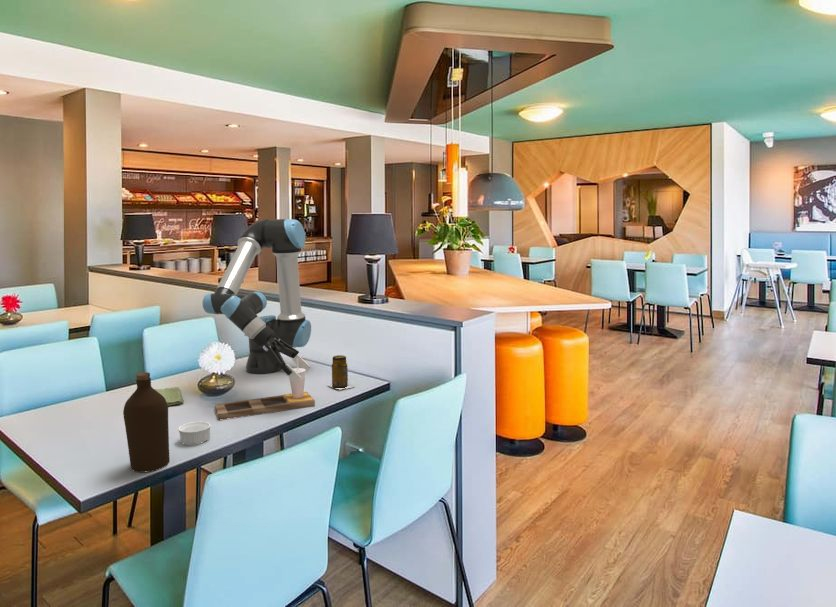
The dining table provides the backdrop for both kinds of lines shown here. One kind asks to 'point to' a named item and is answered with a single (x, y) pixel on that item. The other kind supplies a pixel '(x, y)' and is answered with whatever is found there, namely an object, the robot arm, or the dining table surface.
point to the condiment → (339, 372)
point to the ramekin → (194, 432)
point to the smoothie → (298, 383)
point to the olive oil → (147, 427)
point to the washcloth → (171, 395)
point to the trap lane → (262, 405)
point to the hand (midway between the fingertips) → (303, 374)
